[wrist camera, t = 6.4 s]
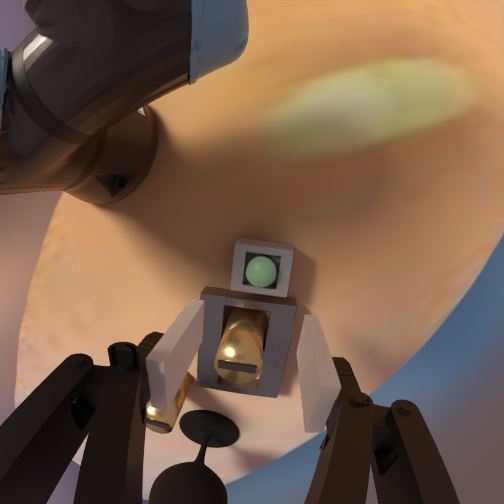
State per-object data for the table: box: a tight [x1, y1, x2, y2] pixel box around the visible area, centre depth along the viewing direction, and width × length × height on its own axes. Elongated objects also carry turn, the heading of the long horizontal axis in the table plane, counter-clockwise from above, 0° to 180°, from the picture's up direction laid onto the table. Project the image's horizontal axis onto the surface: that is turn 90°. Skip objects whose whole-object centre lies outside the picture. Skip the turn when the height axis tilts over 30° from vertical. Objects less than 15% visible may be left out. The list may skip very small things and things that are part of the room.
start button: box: [246, 254, 276, 287], centre depth 28 cm, size 3×3×2 cm
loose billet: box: [146, 372, 192, 434], centre depth 31 cm, size 4×4×10 cm
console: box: [230, 238, 294, 297], centre depth 30 cm, size 6×5×4 cm
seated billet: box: [214, 307, 264, 384], centre depth 28 cm, size 4×4×10 cm
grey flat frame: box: [197, 286, 297, 398], centre depth 33 cm, size 11×14×2 cm
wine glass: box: [148, 410, 239, 504], centre depth 29 cm, size 10×10×20 cm
